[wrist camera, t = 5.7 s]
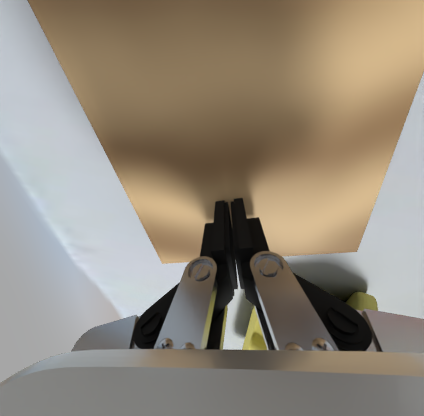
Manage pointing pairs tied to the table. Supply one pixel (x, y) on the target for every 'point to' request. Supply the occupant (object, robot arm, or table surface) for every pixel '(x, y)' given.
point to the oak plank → (244, 109)
